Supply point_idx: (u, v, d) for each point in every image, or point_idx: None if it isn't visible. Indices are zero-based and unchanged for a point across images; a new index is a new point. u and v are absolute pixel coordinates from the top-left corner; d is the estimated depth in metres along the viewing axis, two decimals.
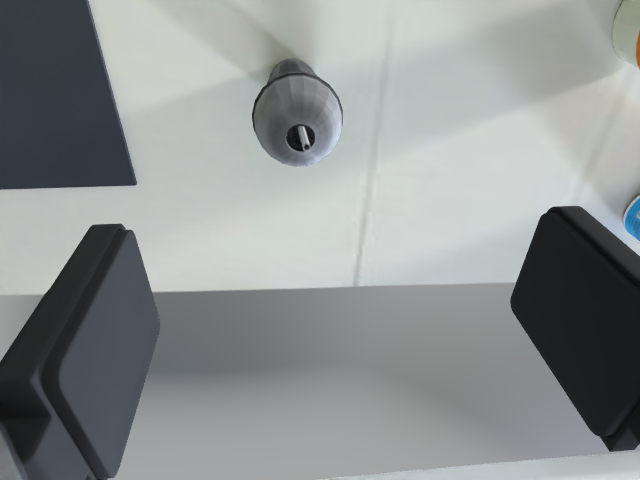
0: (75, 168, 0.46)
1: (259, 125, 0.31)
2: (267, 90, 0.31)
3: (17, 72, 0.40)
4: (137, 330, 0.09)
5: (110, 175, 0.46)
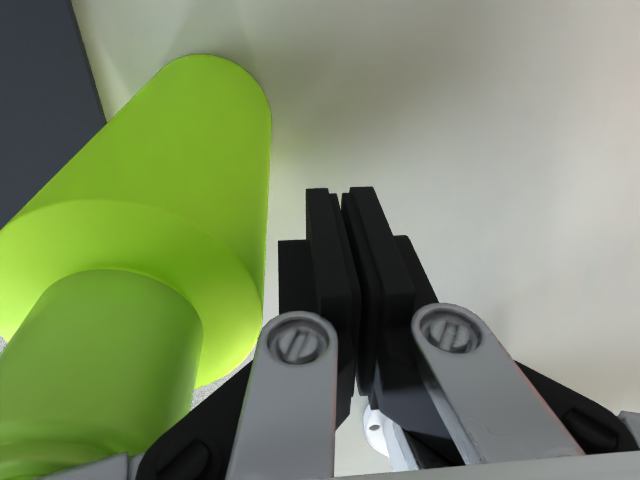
0: None
1: None
2: None
3: None
4: None
5: None
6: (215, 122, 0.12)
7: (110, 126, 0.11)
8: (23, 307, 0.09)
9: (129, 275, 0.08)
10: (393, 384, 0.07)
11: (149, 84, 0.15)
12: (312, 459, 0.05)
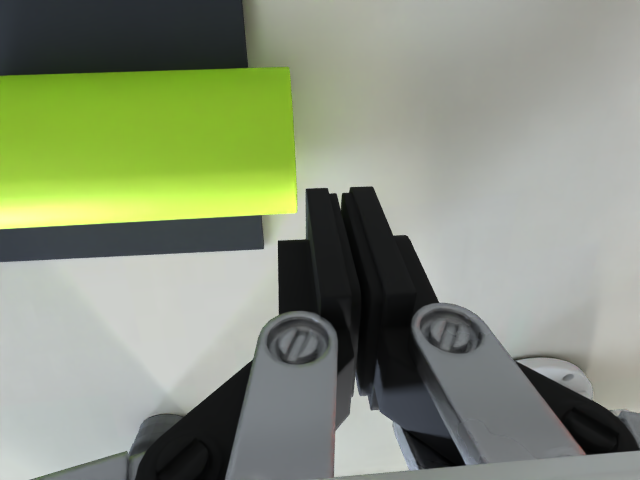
0: None
1: None
2: None
3: None
4: None
5: None
6: (66, 100, 0.14)
7: None
8: None
9: None
10: (393, 384, 0.07)
11: None
12: (312, 459, 0.05)
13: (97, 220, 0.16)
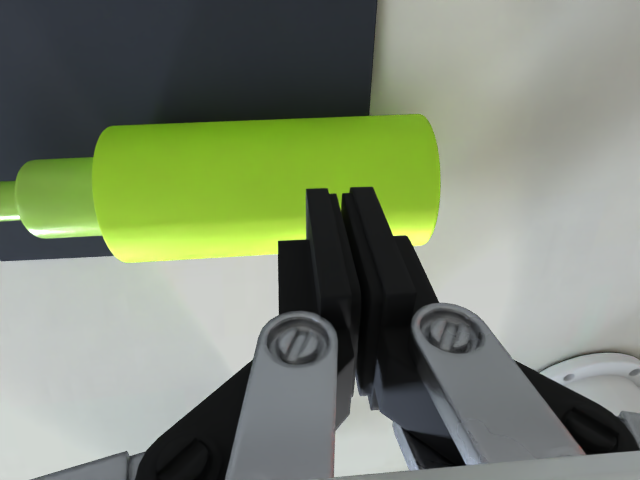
0: None
1: None
2: None
3: (205, 111, 0.19)
4: None
5: (7, 222, 0.22)
6: (242, 202, 0.16)
7: (218, 136, 0.16)
8: None
9: (91, 194, 0.16)
10: (393, 384, 0.07)
11: (336, 129, 0.17)
12: (312, 459, 0.05)
13: None
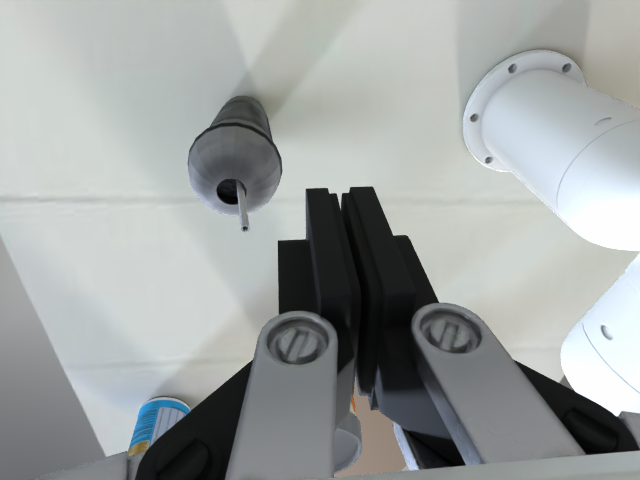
0: None
1: (234, 142, 0.29)
2: (266, 143, 0.31)
3: None
4: None
5: None
6: None
7: None
8: None
9: None
10: (393, 384, 0.07)
11: None
12: (312, 459, 0.05)
13: None
